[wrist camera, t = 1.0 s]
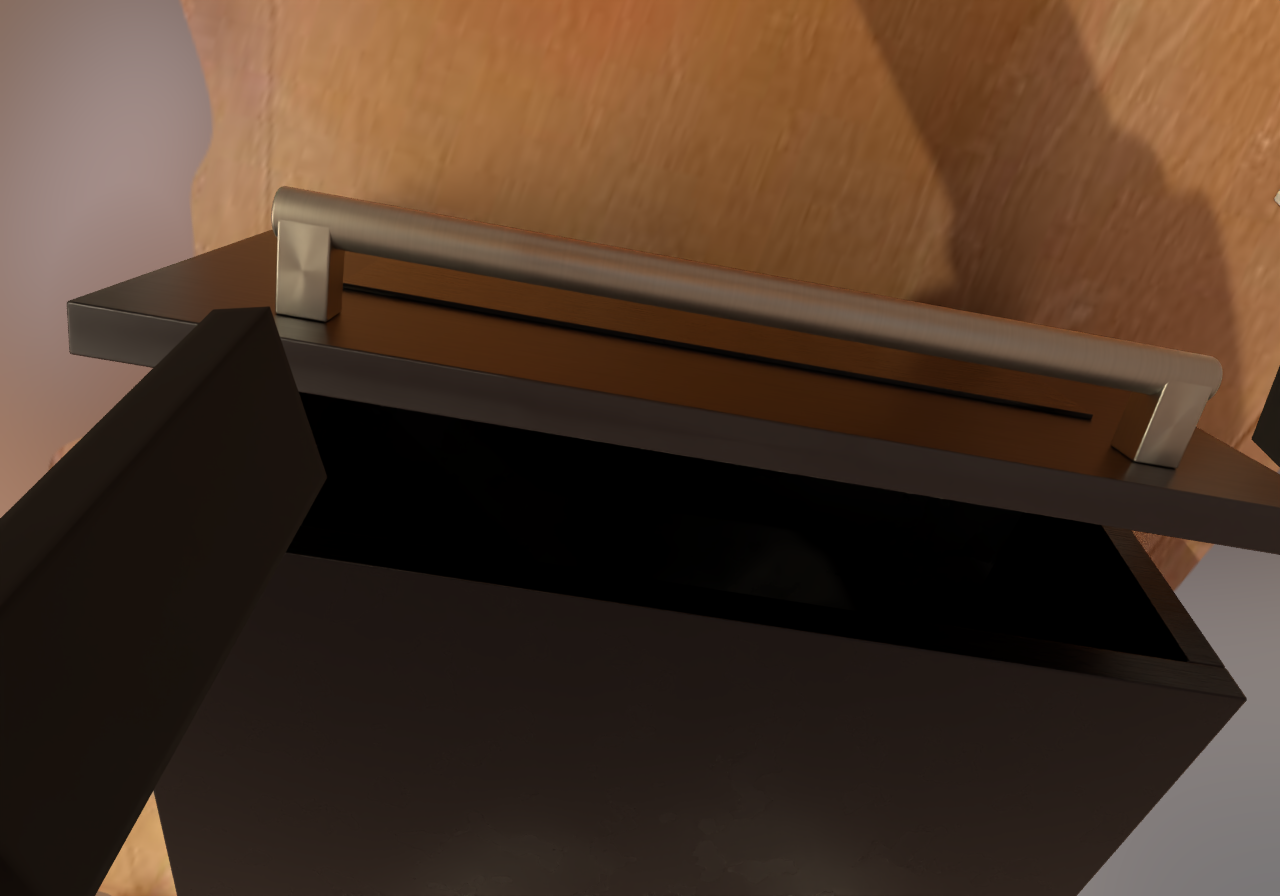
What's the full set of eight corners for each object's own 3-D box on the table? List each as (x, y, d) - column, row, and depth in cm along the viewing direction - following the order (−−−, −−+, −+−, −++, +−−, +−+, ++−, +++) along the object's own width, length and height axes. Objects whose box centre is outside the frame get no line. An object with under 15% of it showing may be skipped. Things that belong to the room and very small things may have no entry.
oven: (343, 235, 49) (92, 523, 28) (1011, 355, 53) (1248, 699, 31) (348, 627, 67) (197, 987, 46) (847, 700, 70) (925, 1070, 49)
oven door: (347, 132, 47) (56, 162, 23) (1046, 265, 50) (1426, 411, 26) (341, 232, 49) (68, 354, 25) (1015, 354, 52) (1342, 566, 28)
